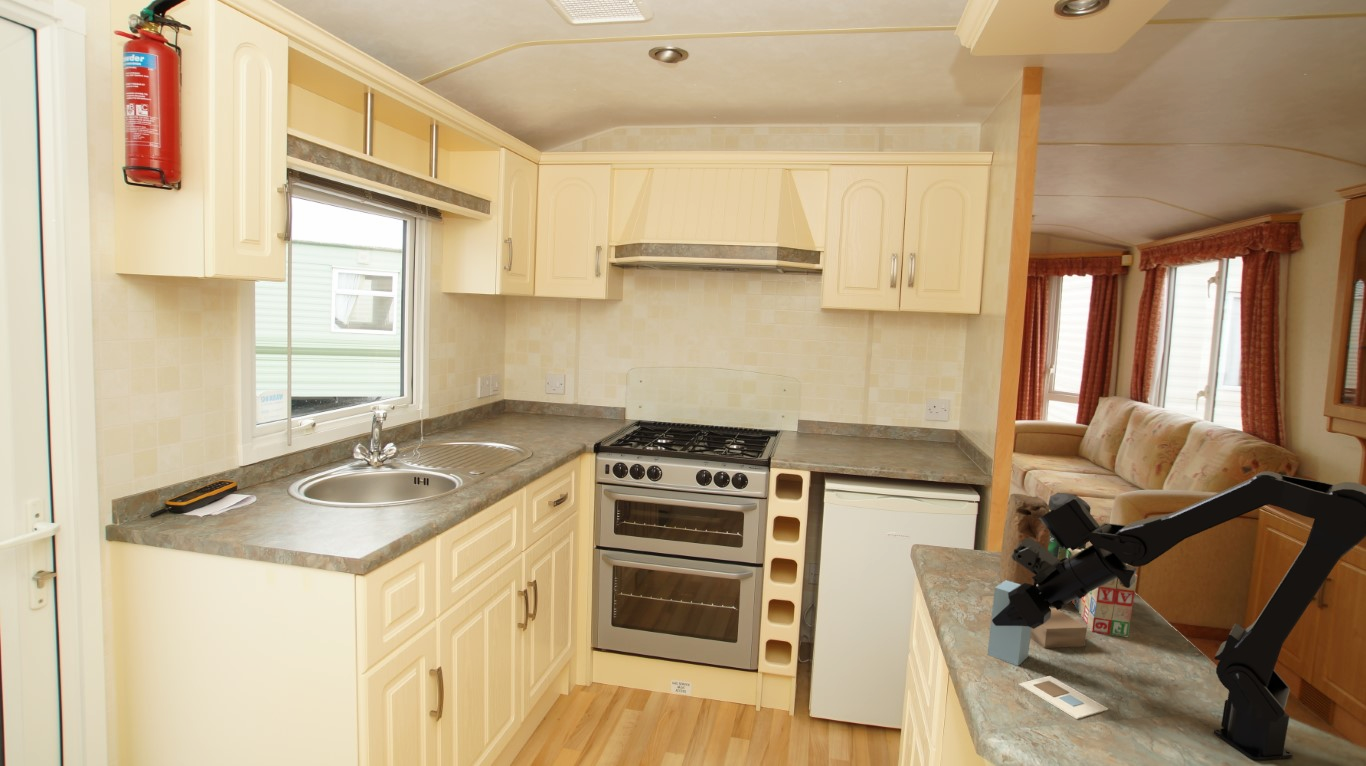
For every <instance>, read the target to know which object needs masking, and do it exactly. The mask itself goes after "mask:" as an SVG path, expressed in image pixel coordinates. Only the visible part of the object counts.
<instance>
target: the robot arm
mask: <svg viewBox="0 0 1366 766" xmlns="http://www.w3.org/2000/svg"><path fill="white" fill-rule="evenodd" d="M1078 497H1079V496H1078ZM1078 497H1076V498H1075V499H1073V500H1071V501H1069V502H1068V503H1066V504H1063V505H1061V506H1059V507H1057V508H1055V509H1053V510H1052V511H1050V512H1048V513H1047V514H1045V515H1043V516H1042V517H1040V518H1039V519H1040V520H1041V521H1042V523H1043V524H1044V525H1045V526H1046V528H1047V529H1048V530H1049V532H1050V533H1051V534H1052V536H1053V537H1054V538H1055V540H1056V541H1057V542H1058V543H1059V545H1060V546H1061V547H1062V548H1063V547H1065V549H1066V550H1067V549H1069V548H1070V547H1071V550H1072V551H1073V550H1075V549H1077V548H1079V547H1080V546H1082V545H1084V544H1086V545H1087V543H1088V542H1089V543H1090V544H1091V545H1089V546H1088V547H1086V549H1084V550H1082V551H1080V552H1079V553H1077V554H1075V555H1073V556H1071V557H1068V558H1067V557H1064V558H1062V559H1061V560H1059V559H1058V558H1057V557H1055V556H1054V555H1053V554H1052V553H1051V552H1050V551H1048V550H1047V549H1046V548H1044V547H1043V546H1041V545H1040V544H1039V543H1037V542H1036V541H1035V540H1033V539H1031V538H1027V539H1025V540H1023V541H1022V542H1021V543H1020V544H1019V546H1018V547H1017V548H1016V549H1015V550H1014V553H1013V554H1012V556H1011V557H1012V559H1013V560H1014V561H1016V562H1018V563H1020V564H1021V565H1022V566H1024V567H1025V568H1026V569H1028V570H1030V571H1031V572H1032V573H1034V574H1035V575H1034V576H1033V577H1032V578H1033V580H1034V585H1031V584H1028V583H1023V584H1021V585H1019V586H1018V587H1016V588H1015V589H1013V590H1012V591H1010V592H1009V593H1008V598H1009V605H1007V606H1006V607H1005V608H1004V609H1003V610H1002V611H1001V612H1000V613H999V614H998V615H997V616H996V617H994V618H993V619H992V622H993V623H994V624H995V626H1029V627H1031V628H1033V629H1034V628H1036V627H1038V626H1040V625H1042V624H1044V623H1045V622H1046V621H1047V620H1048V619H1050V617H1051V609H1050V608H1053V607H1054V608H1056V609H1057V610H1061V609H1062V608H1064V607H1065V606H1066V605H1067V604H1070V603H1072V602H1071V601H1073V600H1075V599H1077V598H1079V599H1080V598H1082V597H1084V596H1085V595H1087V594H1088V593H1089V592H1090V591H1092V590H1094V589H1096V588H1098V587H1100V586H1102V585H1104V584H1106V583H1108V582H1110V581H1112V580H1114V579H1115V578H1117V577H1118V579H1119V580H1120V581H1121V582H1122V584H1123V585H1124V586H1125V587H1126V588H1129V587H1130V586H1131V585H1132V584H1133V583H1134V582H1135V574H1136V573H1137V572H1138V568H1137V567H1144V566H1146V565H1148V564H1150V563H1151V562H1153V561H1154V560H1156V559H1157V558H1159V557H1161V556H1162V555H1164V554H1165V553H1167V552H1168V551H1169V550H1171V549H1172V548H1173V547H1175V546H1176V545H1178V544H1179V543H1181V542H1183V541H1184V540H1186V539H1188V538H1191V537H1193V536H1196V535H1197V534H1200V533H1202V532H1205V531H1207V530H1209V529H1212V528H1214V527H1217V526H1219V525H1221V524H1224V523H1226V522H1228V521H1231V520H1233V519H1236V518H1238V517H1240V516H1243V515H1245V514H1247V513H1250V512H1252V511H1256V510H1257V509H1260V508H1262V507H1265V506H1269V505H1270V506H1274V507H1277V508H1280V509H1283V510H1286V511H1289V512H1291V513H1294V514H1298V515H1300V516H1303V517H1307V518H1309V519H1313V523H1312V526H1311V529H1310V531H1309V533H1308V537H1307V540H1306V542H1305V543H1304V545H1303V546H1302V547H1301V549H1300V551H1299V553H1298V554H1297V556H1296V557H1295V559H1294V561H1292V563H1291V565H1290V567H1289V568H1288V570H1287V572H1286V573H1285V574H1284V576H1283V577H1282V579H1281V581H1280V583H1279V584H1278V585H1277V586H1276V588H1275V590H1274V591H1273V593H1272V595H1271V596H1270V598H1269V600H1268V601H1267V603H1266V604H1265V606H1264V607H1263V609H1262V611H1261V612H1260V613H1259V615H1258V617H1257V618H1256V619H1255V620H1254V622H1252V623H1251V624H1250V625H1249V626H1247V628H1245V629H1244V628H1243V627H1242V626H1241V625H1239V624H1238V623H1234V625H1232V628H1231V630H1230V632H1229V634H1228V636H1227V639H1226V640H1225V641H1223V642H1222V643H1221V644H1220V646H1219V647H1218V650H1217V652H1216V653H1215V655H1214V656H1213V657H1214V660H1216V661H1218V662H1217V665H1216V667H1215V668H1216V669H1215V673H1216V675H1217V678H1218V680H1219V682H1220V683H1221V685H1222V686H1223V687H1224V688H1225V689H1227V690H1228V694H1227V699H1226V700H1224V703H1223V704H1224V705H1223V706H1224V707H1223V711H1222V716H1221V717H1222V718H1221V728H1214V729H1213V731H1212V733H1213V734H1214V735H1216V736H1217V737H1218V738H1220V739H1222V740H1223V741H1225V742H1226V743H1227V744H1229V745H1230V746H1232V747H1234V748H1235V749H1237V750H1238V751H1239V752H1241V753H1242V754H1244V755H1245V756H1246V757H1249V759H1250V760H1251V759H1252V760H1253V761H1254V760H1255V761H1263V760H1265V761H1266V760H1276V759H1277V760H1278V759H1289V758H1290V759H1291V758H1293V753H1292V751H1289V750H1288V749H1287V748H1286V747H1285V745H1286V739H1287V732H1288V726H1289V720H1290V715H1289V714H1288V713H1286V712H1285V709H1286V705H1287V703H1288V698H1289V695H1290V691H1291V687H1289V685H1288V684H1287V683H1286V682H1285V681H1284V679H1283V678H1282V677H1281V676H1280V675H1279V674H1278V672H1277V671H1276V670H1275V667H1276V664H1277V661H1278V658H1279V656H1280V653H1281V650H1282V647H1283V645H1284V643H1285V642H1286V640H1287V638H1288V637H1289V635H1290V634H1291V632H1292V631H1293V629H1294V627H1295V626H1296V624H1298V622H1299V620H1300V619H1301V617H1302V616H1303V614H1304V612H1305V611H1306V609H1307V608H1308V607H1309V605H1310V604H1311V602H1312V600H1313V599H1314V598H1315V596H1316V594H1317V593H1318V591H1319V590H1320V589H1321V587H1322V586H1323V584H1324V582H1326V579H1327V578H1328V576H1329V575H1330V574H1331V572H1332V571H1333V569H1334V567H1335V566H1336V565H1337V563H1338V562H1339V560H1340V559H1341V558H1343V557H1344V556H1345V555H1347V553H1349V552H1350V551H1351V550H1353V548H1355V547H1356V546H1357V545H1358V544H1360V542H1361V541H1363V539H1365V538H1366V485H1364V484H1361V483H1357V482H1353V481H1352V482H1351V481H1349V482H1348V481H1347V482H1346V481H1345V482H1339V483H1335V484H1333V483H1327V482H1324V481H1320V480H1319V481H1318V480H1315V479H1314V480H1313V479H1306V478H1301V477H1296V476H1295V477H1294V476H1287V475H1285V474H1280V473H1277V472H1275V471H1274V472H1273V471H1270V470H1269V471H1267V470H1265V471H1264V470H1263V471H1261V472H1258V473H1256V474H1255V475H1254V476H1252V477H1251V478H1249V479H1247V480H1244V481H1243V482H1242V481H1241V482H1239V483H1238V484H1236V485H1233V486H1231V487H1229V488H1227V489H1225V490H1222V491H1219V492H1217V493H1215V494H1212V495H1211V496H1208V497H1205V498H1203V499H1201V500H1199V501H1197V502H1195V503H1193V504H1190V505H1187V506H1186V507H1184V508H1182V509H1178V510H1176V511H1174V512H1170V513H1165V514H1162V515H1155V516H1151V517H1146V518H1144V519H1139V520H1135V521H1132V522H1130V523H1127V525H1125V524H1117V523H1107V522H1104V523H1102V524H1099V523H1098V522H1097V520H1096V519H1095V517H1094V516H1093V515H1092V514H1091V512H1090V513H1089V512H1088V510H1087V509H1086V507H1085V505H1084V504H1083V502H1082V501H1081V500H1080V498H1081V497H1079V498H1078ZM1136 575H1137V574H1136Z"/></svg>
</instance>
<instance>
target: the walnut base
mask: <svg viewBox="0 0 1366 766" xmlns="http://www.w3.org/2000/svg"><path fill="white" fill-rule="evenodd" d="M1049 608H1050V609H1051V617H1050V619H1048V620H1047V621H1046V622H1045V623H1044V624H1042V625H1040V626H1038V627H1036V628H1034V629H1033V628H1031V637H1030V639H1032V640H1033V641H1035V642H1036V643H1037V644H1039V645H1040V646H1041V647H1043V648H1044V649H1046V648H1047V649H1049V648H1071V647H1073V648H1075V647H1085V645H1086V638H1087V631H1088V626H1085V625H1084V624H1082V623H1081V622H1079V621H1078V620H1076V619H1074V618H1073V617H1072V616H1070V615H1068V614H1067V613H1065V612H1064V611H1062V610H1061V609H1059V610H1057V609H1056V608H1055V607H1049Z"/></svg>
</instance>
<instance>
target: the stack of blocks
mask: <svg viewBox="0 0 1366 766" xmlns="http://www.w3.org/2000/svg"><path fill="white" fill-rule="evenodd" d="M1082 550H1084V549H1081V550H1078V549H1075V550H1073V551H1072V550H1071V549H1070V548H1069V549H1067V551H1066V557H1067V558H1068V557H1071V556H1073V555H1075V554H1077V553H1079V552H1080V551H1082ZM1137 580H1138V575H1137V574H1135V582H1134V583H1133V584H1132V585H1131V586H1130V587H1129V588H1126V587H1125V586H1124V585H1123V584H1122V582H1121V581H1120V580H1119V579H1118V577H1117V578H1115V579H1114V580H1112V581H1110V582H1108V583H1106V584H1104V585H1102V586H1100V587H1098V588H1096V589H1094V590H1092V591H1090V592H1089V593H1088V594H1087V595H1085V596H1084V597H1082V598H1080V599H1079V598H1077V599H1075V600H1073V601H1072V602H1071V604H1072V603H1073V604H1074V605H1075V606H1074V605H1073V604H1072V605H1073V606H1074V608H1075V609H1076V608H1077V609H1076V611H1077V612H1078V611H1079V612H1078V613H1079V615H1080V614H1081V615H1080V616H1081V618H1082V617H1083V618H1082V619H1084V620H1083V621H1084V623H1085V622H1086V623H1085V624H1086V626H1087V628H1088V629H1089V628H1090V629H1089V631H1092V632H1091V633H1095V632H1097V633H1096V634H1102V633H1105V634H1104V635H1109V634H1113V635H1112V636H1116V635H1121V636H1120V637H1123V636H1128V637H1129V632H1130V626H1131V617H1132V612H1133V606H1134V600H1135V594H1136V586H1137Z"/></svg>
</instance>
